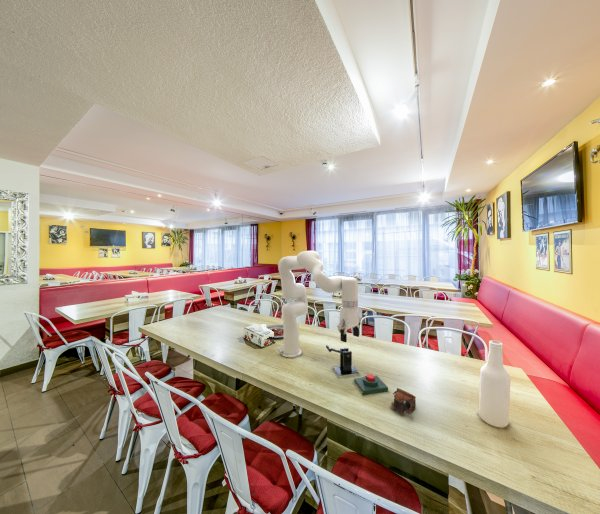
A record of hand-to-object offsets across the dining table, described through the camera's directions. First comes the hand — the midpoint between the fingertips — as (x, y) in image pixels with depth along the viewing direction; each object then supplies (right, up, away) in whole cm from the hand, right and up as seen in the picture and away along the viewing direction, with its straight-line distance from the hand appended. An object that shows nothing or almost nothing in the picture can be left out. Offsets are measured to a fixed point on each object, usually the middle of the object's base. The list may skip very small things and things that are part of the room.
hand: (349, 338), depth 116 cm
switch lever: (-5, -10, +8) cm, 14 cm away
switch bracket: (0, -21, +10) cm, 23 cm away
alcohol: (+49, -22, -25) cm, 59 cm away
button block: (+9, -21, -4) cm, 23 cm away
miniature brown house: (+18, -22, -19) cm, 34 cm away
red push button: (+9, -18, -4) cm, 20 cm away
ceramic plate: (-41, -19, +65) cm, 80 cm away
